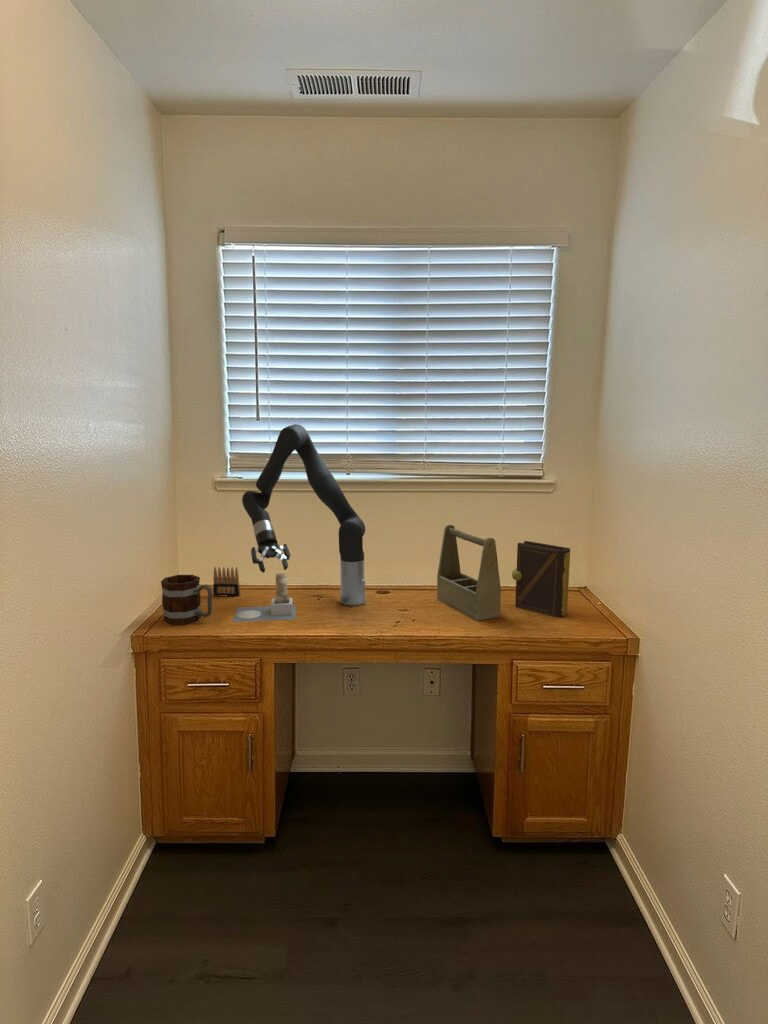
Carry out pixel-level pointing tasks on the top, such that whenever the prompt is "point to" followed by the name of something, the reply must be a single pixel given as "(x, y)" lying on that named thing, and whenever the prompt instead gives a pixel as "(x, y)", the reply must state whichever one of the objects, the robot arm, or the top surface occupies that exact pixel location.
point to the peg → (281, 588)
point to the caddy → (469, 578)
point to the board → (267, 612)
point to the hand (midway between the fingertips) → (274, 570)
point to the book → (542, 578)
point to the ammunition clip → (226, 582)
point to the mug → (183, 599)
